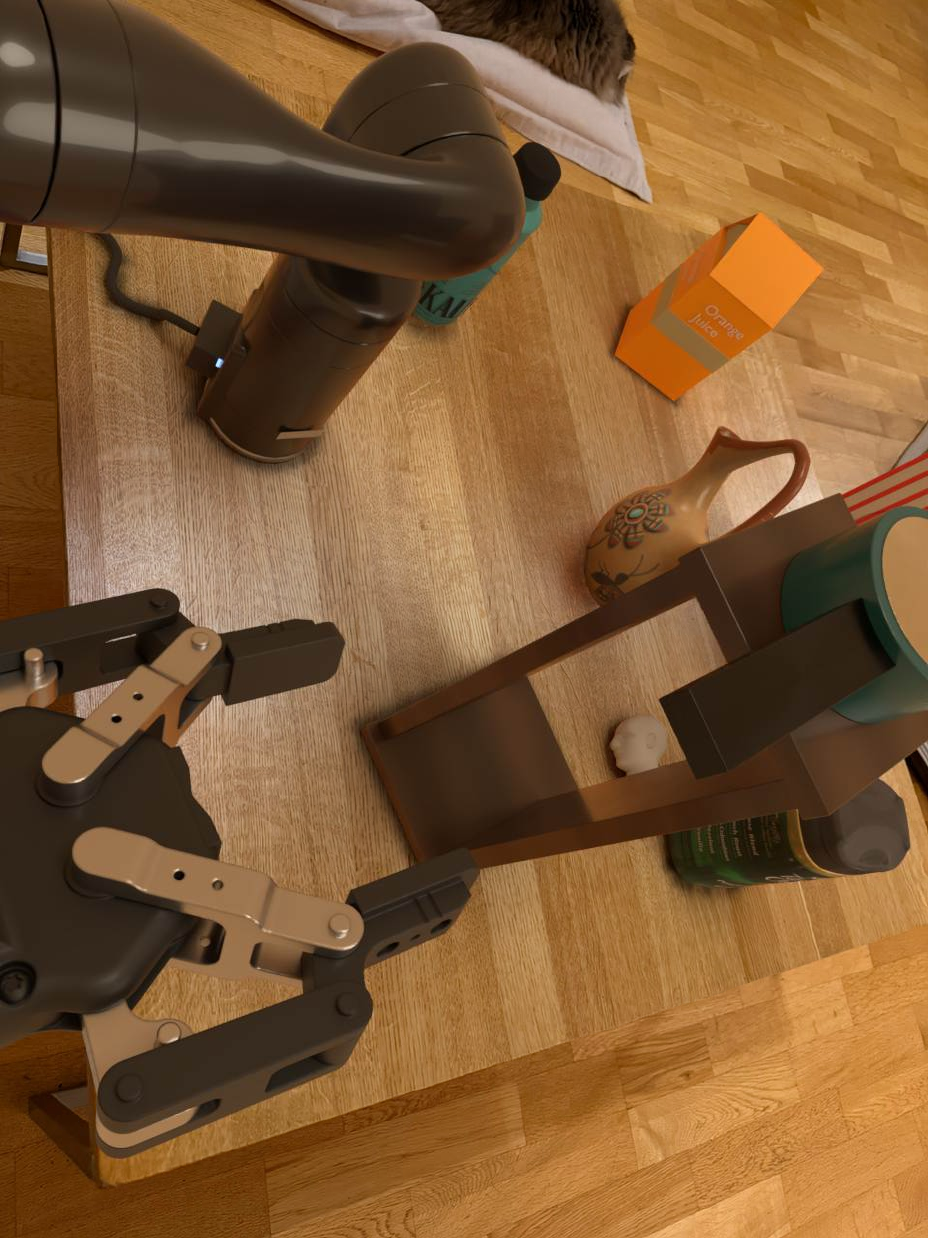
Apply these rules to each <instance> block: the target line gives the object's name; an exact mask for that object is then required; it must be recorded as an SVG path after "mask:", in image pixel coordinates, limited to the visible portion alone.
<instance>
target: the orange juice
mask: <svg viewBox="0 0 928 1238" xmlns="http://www.w3.org/2000/svg"><path fill="white" fill-rule="evenodd" d="M824 270H825V268H824V267H823V266H821V265H820V264H819V263H818V262H817V261H816V260H815V259H814V258H812V257H811V256H810V255H809V254H808V253H807V252H806V251H805V250H804V249H803V248H801V247H800V246H799V245H798V244H797V243H796V242H795V241H794V240H793V239H792V238H790V237H789V236H788V234H786V233H785V232H784V231H783V230H781V229H780V228H779V227H778V226H777V225H776V224H775V223H774V222H772V221H771V220H770V219H769V218H768V217H767V216H766V215H765V214H763V212H761V211H759V212H758V213H756V214H753V215H751V216H748V217H745V218H743V219H741V220H737V221H735V222H733V223H730V224H729V225H726V226H721V228H720V229H719V230H718V231H717V232H715V233H714V235H712V236H711V237H710V238H709V239H708V240H706V242H704V244H702V245H701V246H700V247H699V248H698V249H697V250H695V252H693V253H692V254H691V255H690V256H689V257H687V258H686V259H685V260H684V261H683V262H681V264H679V265H678V266H677V267H676V268H675V269H673V271H671V273H669V274H668V275H667V276H666V277H665V278H664V279H663V280H662V281H661V282H660V283H659V284H658V285H657V286H655V287H654V289H653V290H651V291H650V292H649V293H648V294H647V295H645V297H643V299H641V300H640V301H639V302H638V303H637V304H635V305H634V306H633V308H631V309H630V310H629V312H628V315H627V319H626V321H625V324H624V326H623V330H622V332H621V335H620V338H619V341H618V344H617V347H616V349H615V352H614V356H615V357H617V359H619V360H620V361H621V362H623V363H624V364H625V365H627V367H629V368H630V369H632V370H633V371H634V372H635V373H637V374H638V375H639V376H640V377H642V378H643V379H644V380H646V381H647V382H648V383H649V384H651V385H652V386H653V387H655V388H656V389H657V390H658V391H660V392H661V393H662V394H664V395H665V396H666V397H667V398H669V399H670V400H672V401H673V402H675V401H677V399H679V398H681V397H682V396H683V395H685V394H686V393H688V392H689V391H690V390H692V389H693V388H695V386H697V385H698V384H699V383H701V382H702V381H704V380H705V379H706V378H708V377H709V376H710V375H712V374H714V373H715V372H717V371H719V370H720V369H721V368H723V367H724V366H725V365H727V364H728V363H729V362H730V361H731V360H732V359H734V358H735V357H736V356H738V355H739V354H741V353H742V352H743V351H745V350H746V349H747V348H749V347H750V346H751V345H752V344H754V343H755V342H756V341H758V340H759V339H761V338H762V337H764V336H765V335H766V334H768V333H769V332H770V331H772V330H773V329H774V328H775V327H776V325H777V324H778V323H779V322H780V321H781V320H782V318H783V317H784V316H785V315H786V314H787V313H788V311H789V310H791V308H792V307H793V306H794V305H795V304H796V302H797V301H798V300H799V299H800V298H801V297H802V295H803V294H804V293H805V292H806V290H808V288H809V287H810V286H811V285H812V283H814V282H815V280H816V279H817V278H818V276H819V275H820V274H821V273H822V272H823V271H824Z"/></svg>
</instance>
